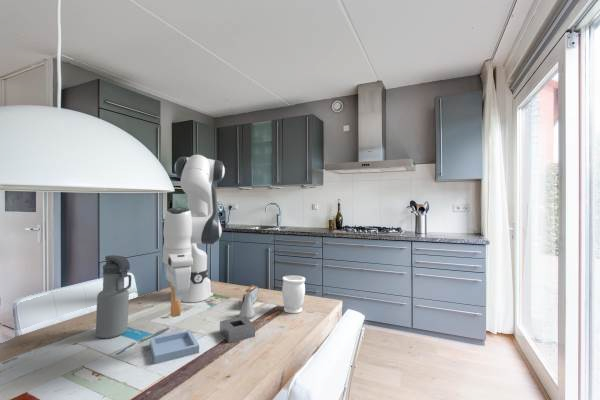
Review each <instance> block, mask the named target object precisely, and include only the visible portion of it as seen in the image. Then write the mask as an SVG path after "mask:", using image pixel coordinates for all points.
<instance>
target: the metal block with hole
mask: <svg viewBox="0 0 600 400" xmlns="http://www.w3.org/2000/svg"><path fill="white" fill-rule="evenodd" d="M219 333H220V334H221V335H222V336H223V338H224V339H225V341H227V343H228V344H229V343H230V342H231V343H235V342H239V341H242V340H246V339H249V338H254V337H256V325H255V324H254V323H253V322H252V321H251V320H250V319H247V318H246V317H245V316H243V317H239V316H238V317H235V318H234V317H233V318H229V319H225V320H220V321H219ZM234 341H235V342H234Z"/></svg>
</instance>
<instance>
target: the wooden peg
mask: <svg viewBox="0 0 600 400" xmlns="http://www.w3.org/2000/svg"><path fill="white" fill-rule="evenodd" d="M169 287H170V289H171V293H170V294H171V295H170V317H172V318H176V317H180V316H181V308H182V306H181V303H182V301H181V300H180V301H175V299H174V295H175V289H174V288H173V286H172V285H171V282H169Z"/></svg>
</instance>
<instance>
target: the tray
mask: <svg viewBox="0 0 600 400" xmlns="http://www.w3.org/2000/svg"><path fill="white" fill-rule="evenodd" d="M149 347H150V351H151V355H152V358H153V359H152V360H153V363H154V364H155V365H156V364H160V363H161V364H162V363H164V362H168V361H173V360H176V359H180V357H181V358H184V356H185V357H187V356H188V355H189V356H193V355H195V354H199V353H200V344H199V343H198V341H197V339H196V337H195V336H194V334H193V333H192V331H191V330H190V329H188V330H183V331H178V332H175V333H169V334H164V335H159V336H154V337H150V338H149ZM189 356H188V357H189Z"/></svg>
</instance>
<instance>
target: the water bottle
mask: <svg viewBox="0 0 600 400" xmlns="http://www.w3.org/2000/svg"><path fill="white" fill-rule="evenodd" d="M104 261H106V262H105V264H104V265H102V275H103V276H102V290H100V292H99V293H97V297H96V315H95V316H96V321H95V335H96V337H97V338H99V339H113V338H116V337H119V336H122V335H124V334H125V333H126V332H127V330H128V327H129V326H128V325H129V324H128V322H129V299H130V298H129V297H130V296H129V295H130V294H129V293H130V292H129V289H130V288H131V287H132V275H131V274H128V271H129V270H130V268H131V265H130V262H129V260H128V258H127V257H125V256H123V255H122V256H121V255H116V254H115V255H114V254H113V255H106V256H105V259H104ZM125 278H128V285H127V286H126V287H125Z"/></svg>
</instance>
